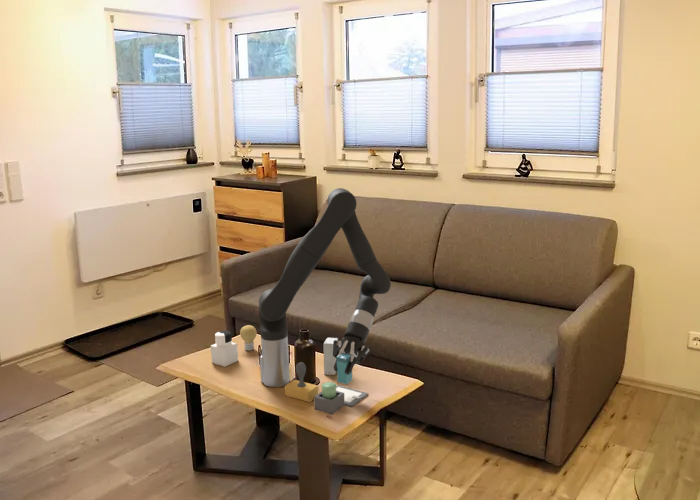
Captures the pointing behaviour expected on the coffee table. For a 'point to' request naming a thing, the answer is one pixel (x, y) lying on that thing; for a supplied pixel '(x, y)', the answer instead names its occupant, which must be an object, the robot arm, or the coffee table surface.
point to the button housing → (329, 403)
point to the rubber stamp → (301, 386)
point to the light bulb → (248, 336)
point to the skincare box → (329, 356)
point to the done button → (329, 390)
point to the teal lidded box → (343, 368)
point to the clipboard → (351, 395)
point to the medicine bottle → (224, 349)
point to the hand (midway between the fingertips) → (341, 372)
